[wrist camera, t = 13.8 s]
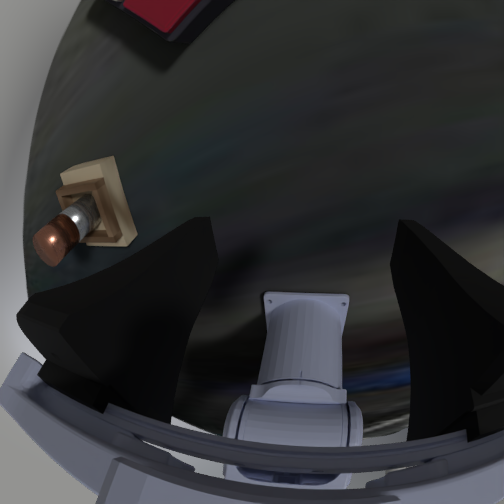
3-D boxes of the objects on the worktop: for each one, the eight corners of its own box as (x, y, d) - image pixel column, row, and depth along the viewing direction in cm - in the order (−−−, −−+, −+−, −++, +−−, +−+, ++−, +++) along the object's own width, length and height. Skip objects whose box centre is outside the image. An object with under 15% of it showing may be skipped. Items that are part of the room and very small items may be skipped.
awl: (108, 221, 22) (63, 266, 17) (87, 224, 23) (44, 266, 17) (96, 191, 20) (45, 232, 15) (75, 196, 21) (28, 235, 16)
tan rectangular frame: (137, 234, 25) (120, 254, 22) (97, 235, 26) (80, 252, 23) (113, 155, 20) (90, 169, 18) (73, 165, 21) (51, 179, 19)
